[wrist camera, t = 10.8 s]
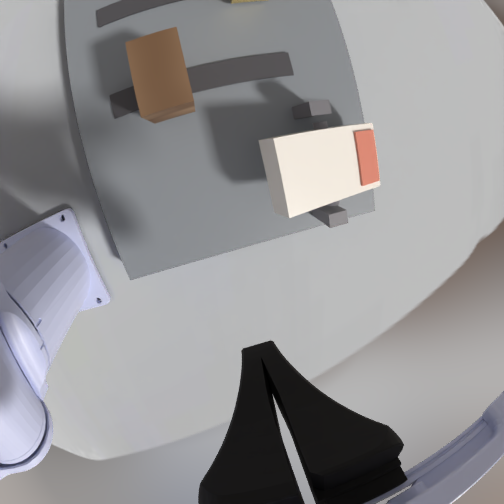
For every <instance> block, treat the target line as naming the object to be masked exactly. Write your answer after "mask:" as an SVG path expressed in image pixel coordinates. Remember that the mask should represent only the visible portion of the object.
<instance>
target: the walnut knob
mask: <svg viewBox="0 0 504 504" xmlns="http://www.w3.org/2000/svg"><path fill="white" fill-rule="evenodd" d="M125 44H126V50H127V55H128V61H129V66H130V71H131V76H132V81H133V85H134V90H135V94H136V99H137V103H138V108H139V112H140V116H141V118H143V119H146V120H148V121H150V122H152V123H154V124H156V123H159V122H162V121H165V120H168V119H171V118H175V117H178V116H181V115H185V114H189V113H192V112H195V104H194V98H193V94H192V90H191V86H190V82H189V78H188V73H187V69H186V65H185V61H184V56H183V52H182V48H181V44H180V39H179V35H178V30H177V27H173V28H169V29H165V30H162V31H158V32H155V33H152V34H149V35H145V36H142V37H139V38H136V39H134V40H131V41H128V42H125Z"/></svg>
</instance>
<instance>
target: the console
mask: <svg viewBox="0 0 504 504" xmlns="http://www.w3.org/2000/svg"><path fill="white" fill-rule="evenodd" d="M64 25H65V41H66V53H67V62H68V71H69V78H70V85H71V91H72V97H73V102H74V108H75V113H76V118H77V122H78V127H79V131H80V136H81V140H82V144H83V148H84V152H85V155H86V159H87V163H88V166H89V170H90V173H91V177H92V180H93V183H94V186H95V190H96V193H97V196H98V199H99V202H100V205H101V208H102V211H103V213H104V216H105V219H106V222H107V224H108V227H109V230H110V232H111V235H112V238H113V240H114V243H115V245H116V248H117V250H118V253H119V255H120V258H121V260H122V262H123V265H124V267H125V269H126V272H127V274H128V276H129V278H130V280H133V279H136V278H140V277H143V276H147V275H150V274H154V273H157V272H160V271H164V270H167V269H171V268H174V267H178V266H181V265H185V264H188V263H192V262H195V261H198V260H202V259H205V258H209V257H212V256H216V255H219V254H223V253H226V252H230V251H233V250H237V249H240V248H244V247H247V246H251V245H254V244H258V243H261V242H265V241H268V240H272V239H276V238H279V237H283V236H286V235H290V234H293V233H297V232H300V231H304V230H308V229H311V228H315V227H318V226H322V225H327V226H328V227H330V228H332V227H335V226H339V225H342V224H346V223H348V218H351V217H354V216H358V215H361V214H365V213H369V212H372V211H375V204H374V192H373V189H370V190H367V191H364V192H361V193H358V194H355V195H353V196H350V197H347V198H344V199H341V200H340V204H339V205H336V206H327V205H325V206H322V207H319V208H316V209H313V210H311V211H308V212H305V213H303V214H300V215H297V216H294V217H292V218H288V217H285V216H282V215H280V214H277V213H274V210H273V205H272V200H271V195H270V191H269V186H268V181H267V177H266V172H265V168H264V163H263V159H262V154H261V150H260V145H259V141H258V140H262V139H267V138H271V137H276V136H281V135H286V134H292V133H297V132H303V131H309V130H314V128H313V123H316V122H324V121H327V125H328V127H335V126H342V125H350V124H363V123H364V118H363V113H362V108H361V103H360V98H359V93H358V89H357V84H356V80H355V76H354V72H353V68H352V64H351V60H350V57H349V53H348V50H347V46H346V43H345V40H344V36H343V33H342V30H341V27H340V24H339V21H338V18H337V15H336V12H335V10H334V7H333V4H332V2H331V0H268V1H254V2H242V3H233V4H231V2H230V0H64ZM173 27H177V30H178V35H179V39H180V44H181V48H182V52H183V56H184V61H185V65H186V69H187V73H188V78H189V82H190V86H191V90H192V94H193V98H194V104H195V112H192V113H189V114H185V115H181V116H178V117H175V118H171V119H168V120H165V121H162V122H159V123H156V124H154V123H152V122H150V121H148V120H146V119H143V118H141V116H140V112H139V108H138V103H137V99H136V94H135V90H134V85H133V81H132V76H131V71H130V66H129V61H128V55H127V50H126V44H125V42H128V41H131V40H134V39H136V38H139V37H142V36H145V35H149V34H152V33H155V32H158V31H162V30H165V29H169V28H173Z"/></svg>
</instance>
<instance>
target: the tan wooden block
mask: <svg viewBox="0 0 504 504" xmlns="http://www.w3.org/2000/svg"><path fill="white" fill-rule="evenodd" d="M254 1H268V0H230V2H231V4H233V3H242V2H254Z"/></svg>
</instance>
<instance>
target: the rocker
mask: <svg viewBox="0 0 504 504" xmlns="http://www.w3.org/2000/svg"><path fill="white" fill-rule="evenodd" d="M313 128H314V130H309V131H303V132H297V133H292V134H286V135H281V136H276V137H271V138H267V139H262V140H258V141H259V145H260V150H261V154H262V159H263V163H264V168H265V172H266V177H267V181H268V186H269V191H270V195H271V200H272V205H273V210H274V213H277V214H280V215H282V216H285V217H288V218H292V217H294V216H297V215H300V214H303V213H305V212H308V211H311V210H313V209H316V208H319V207H322V206H325V205H327V206H336V205H339V204H340V200H341V199H344V198H347V197H350V196H353V195H355V194H358V193H361V192H364V191H367V190H370V189H373V188H375V187H378V186H380V176H379V167H378V158H377V150H376V143H375V136H374V130H373V124H372V123H363V124H350V125H342V126H335V127H328V125H327V121H324V122H316V123H313Z"/></svg>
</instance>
